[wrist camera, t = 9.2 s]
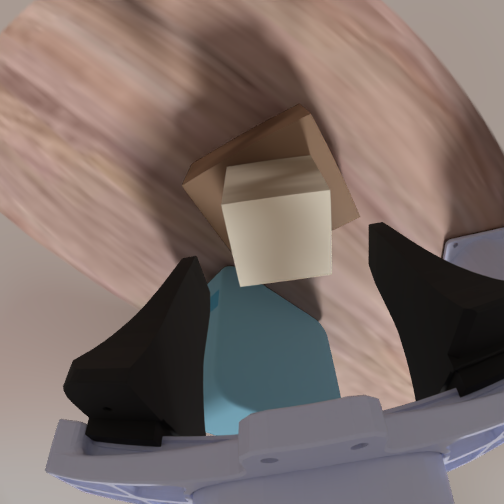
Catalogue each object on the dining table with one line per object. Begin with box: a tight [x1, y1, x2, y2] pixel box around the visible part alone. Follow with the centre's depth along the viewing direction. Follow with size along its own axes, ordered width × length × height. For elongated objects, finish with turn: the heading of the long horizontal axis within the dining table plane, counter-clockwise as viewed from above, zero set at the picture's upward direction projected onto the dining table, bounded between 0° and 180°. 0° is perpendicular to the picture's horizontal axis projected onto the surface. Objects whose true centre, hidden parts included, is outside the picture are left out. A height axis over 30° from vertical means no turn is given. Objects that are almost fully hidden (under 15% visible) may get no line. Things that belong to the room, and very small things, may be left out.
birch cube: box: [221, 155, 332, 287], centre depth 16 cm, size 4×4×4 cm
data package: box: [203, 266, 341, 436], centre depth 23 cm, size 12×4×12 cm, turn 49°
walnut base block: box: [182, 104, 360, 252], centre depth 20 cm, size 8×7×4 cm
